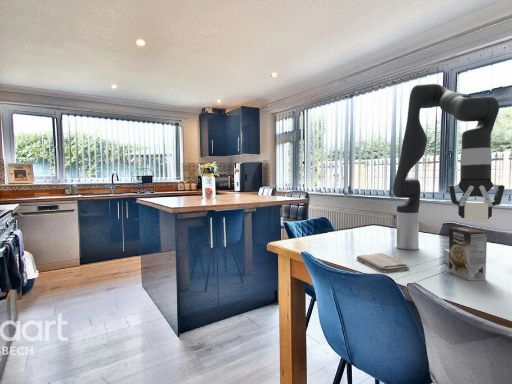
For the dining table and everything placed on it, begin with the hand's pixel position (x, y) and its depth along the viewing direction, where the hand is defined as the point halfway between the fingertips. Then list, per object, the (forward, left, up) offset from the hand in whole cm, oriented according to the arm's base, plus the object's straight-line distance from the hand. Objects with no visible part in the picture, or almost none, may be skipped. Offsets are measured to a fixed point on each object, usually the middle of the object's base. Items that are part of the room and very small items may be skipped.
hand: (474, 218), depth 88 cm
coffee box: (0, +9, -21) cm, 23 cm away
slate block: (-2, +24, -21) cm, 32 cm away
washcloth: (-27, +11, -22) cm, 37 cm away
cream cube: (0, 0, -1) cm, 1 cm away
